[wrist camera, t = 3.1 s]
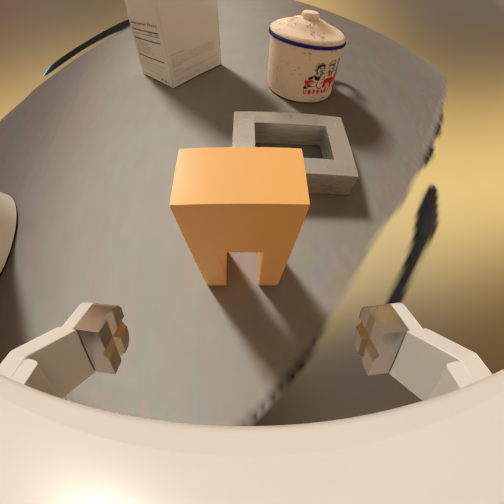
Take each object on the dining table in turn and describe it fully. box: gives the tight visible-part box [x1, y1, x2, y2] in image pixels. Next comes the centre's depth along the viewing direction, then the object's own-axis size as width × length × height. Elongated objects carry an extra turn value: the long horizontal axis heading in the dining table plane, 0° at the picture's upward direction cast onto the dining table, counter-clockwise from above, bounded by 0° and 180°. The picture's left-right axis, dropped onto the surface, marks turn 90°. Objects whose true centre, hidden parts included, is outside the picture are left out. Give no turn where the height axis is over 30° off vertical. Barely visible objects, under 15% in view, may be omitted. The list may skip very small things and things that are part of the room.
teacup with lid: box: [267, 10, 346, 103], centre depth 27 cm, size 12×9×12 cm
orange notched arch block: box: [170, 147, 310, 285], centre depth 17 cm, size 6×3×12 cm, turn 91°
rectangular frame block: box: [232, 111, 359, 195], centre depth 25 cm, size 8×11×3 cm
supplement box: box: [125, 0, 221, 88], centre depth 27 cm, size 9×9×15 cm
